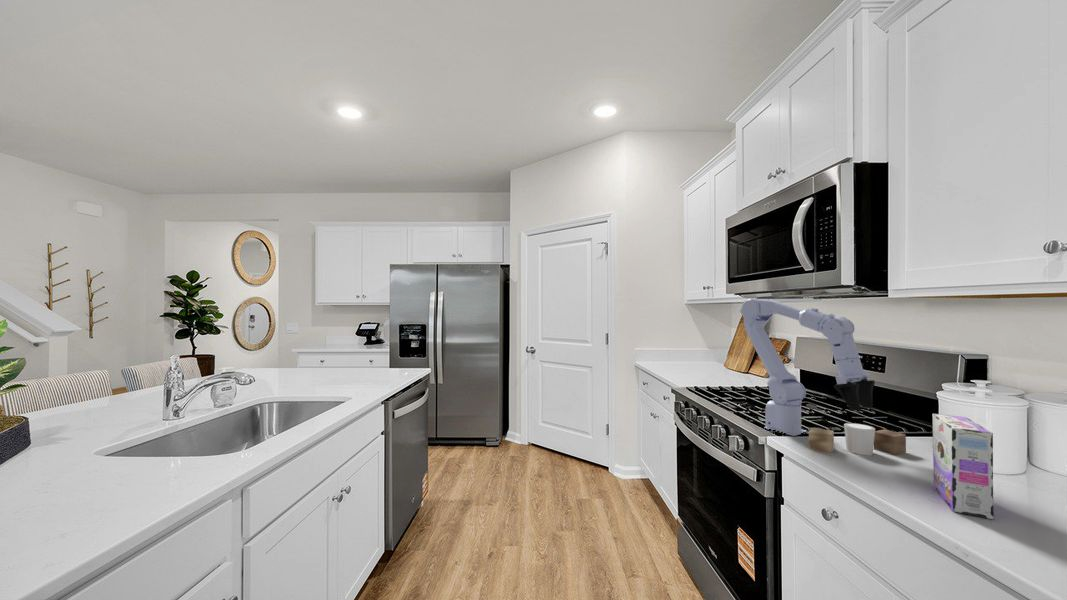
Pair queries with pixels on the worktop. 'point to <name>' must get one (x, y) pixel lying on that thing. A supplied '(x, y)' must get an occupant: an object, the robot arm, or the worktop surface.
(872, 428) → the white cup
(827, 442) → the oak block
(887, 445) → the walnut block
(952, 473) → the candy box
